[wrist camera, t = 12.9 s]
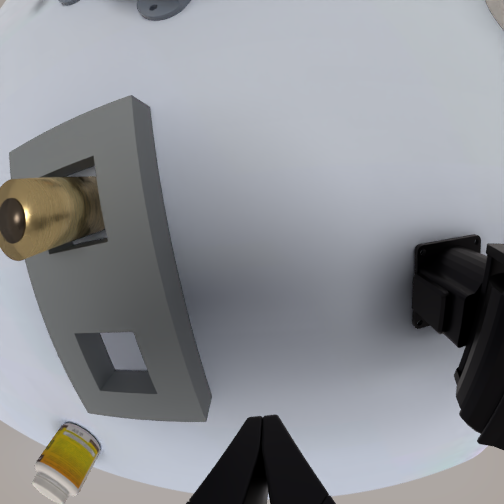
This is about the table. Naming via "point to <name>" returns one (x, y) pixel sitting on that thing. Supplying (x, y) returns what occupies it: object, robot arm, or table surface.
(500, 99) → the table surface
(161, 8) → the vise
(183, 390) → the jig
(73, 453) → the supplement bottle
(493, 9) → the cylindrical container
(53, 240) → the cylinder
